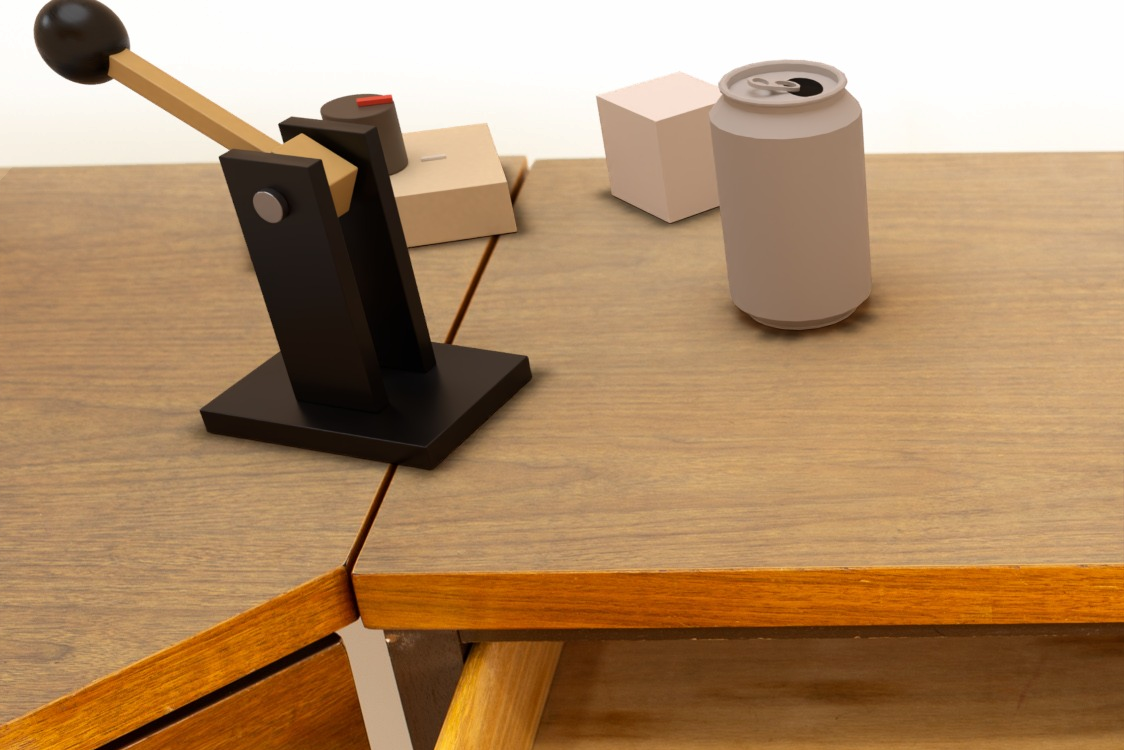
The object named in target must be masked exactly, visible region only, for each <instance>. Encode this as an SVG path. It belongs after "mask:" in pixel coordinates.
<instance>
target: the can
mask: <svg viewBox="0 0 1124 750" xmlns="http://www.w3.org/2000/svg"><path fill="white" fill-rule="evenodd" d="M847 84H848V78H847V77H846V73H845V72H843V71H842V70H840V69H838V68H837V67H835V66H834V65H830V64H827V63H824V62H822V61H821V62H820V61H813V60H806V59H773V60H763V61H759V62H752V63H748V64H745V65H741V66H739V67H735V68H734V69H732V70H730V71H729V72H726V73H725V74H724V75H723V76H722V77H721V78H720V80H719V81H718V83H717V86H718V87H719V90H720V93H722V95H721V97H720V98H719V99H718V101H717V102H716V103H715V105H714V106H713V107H712V109H711V110H710V112H709V120H710V129H711V137H712V146H713V154H714V163H715V171H716V180H717V188H718V196H719V205H720V206H719V213H720V221H721V228H722V237H723V239H722V240H723V246H724V254H725V263H726V271H727V280H728V289H729V295H730V300H731V302H732V303H733V304H734V305H735V306H736V307H737V308H738V309H739V310H741V311H742V312H744V313H746V314H748V315H749V316H750V317H751V318H752V319H753V320H754V321H755V322H758V323H759V324H762V325H764V326H767V327H771V328H776V329H781V330H794V331H795V330H797V331H803V330H811V329H820V328H824V327H828V326H831V325H835V324H836V323H839V322H841V321H843V320H845V319H848V318H849V317H850V316H851V315H852V314H853V313H855V312H856V310H857V308H858V307H859V306H860V305H862V303H863V302H865V301H866V300H867V299H868V298H869V296H870V294H871V292H872V288H873V279H872V278H873V277H872V262H871V245H870V228H869V227H870V226H869V212H868V211H869V210H868V192H867V174H866V157H865V154H866V153H865V140H864V139H865V138H864V121H863V108H862V106H861V104H860V101H858V99H857V98H856V97H855V96H853V95H852V93H851V92H850V91H849V90H848V89H846V86H847Z"/></svg>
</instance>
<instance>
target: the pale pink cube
mask: <svg viewBox="0 0 1124 750" xmlns="http://www.w3.org/2000/svg"><path fill="white" fill-rule="evenodd" d="M721 95H722V93H720V90H719V86H718V85H716V84H713V83H711V82H709V81H708V82H707V81H705V80H704V79H700V78H698V77H695V76H693V75H690V74H688V73H685V72H683V71H681V70H679V71H676V72H673V73H669V74H666V75H662V76H659V77H655V78H652V79H649V80H646V81H641V82H639V83H635V84H631V85H628V86H624V87H620V88H617V89H614V90H610V91H607V92H602V93H600V94H597V95H595V99H596V107H597V111H598V118H599V124H600V130H601V137H602V144H603V148H604V155H605V161H606V167H607V173H608V174H607V175H608V179H609V185H610V191H611V195H612V196H613V197H616V198H618V199H619V200H622V201H624V202H625V203H628V204H630V205H632V206H634V207H635V208H638V209H640V210H642V211H644V212H646V213H648V214H650V215H653V216H654V217H656V218H659V219H661V220H662V221H664V222H666V223H669V224H671V223H676V222H678V221H681V220H683V219H686V218H688V217H692V216H695V215H697V214H701V213H704V212H707V211H708V210H712V209H715V208H718V207H720V205H719V196H718V188H717V180H716V171H715V163H714V154H713V146H712V137H711V129H710V120H709V112H710V110H711V109H712V107H713V106H714V105H715V103H716V102H717V101H718V99H719V98H720V97H721Z"/></svg>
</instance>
